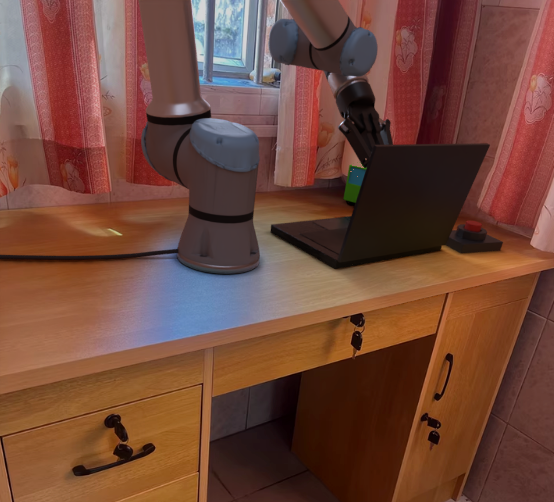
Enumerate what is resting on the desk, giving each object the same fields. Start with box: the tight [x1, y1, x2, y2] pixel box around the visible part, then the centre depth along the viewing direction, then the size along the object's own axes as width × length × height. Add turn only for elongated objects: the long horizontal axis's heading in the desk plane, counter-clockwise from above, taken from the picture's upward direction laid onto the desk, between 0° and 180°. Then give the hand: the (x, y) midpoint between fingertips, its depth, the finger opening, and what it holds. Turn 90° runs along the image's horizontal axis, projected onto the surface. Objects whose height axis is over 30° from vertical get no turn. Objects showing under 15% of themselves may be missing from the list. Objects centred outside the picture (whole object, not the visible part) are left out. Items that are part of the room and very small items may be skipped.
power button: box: [464, 220, 483, 232], centre depth 127 cm, size 4×4×2 cm
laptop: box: [270, 215, 443, 270], centre depth 123 cm, size 22×31×2 cm
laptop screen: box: [337, 142, 491, 262], centre depth 108 cm, size 22×31×1 cm
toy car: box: [343, 164, 366, 204], centre depth 150 cm, size 10×13×10 cm
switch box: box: [445, 223, 504, 255], centre depth 129 cm, size 12×9×4 cm
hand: (393, 196), depth 112 cm, fingers closed
